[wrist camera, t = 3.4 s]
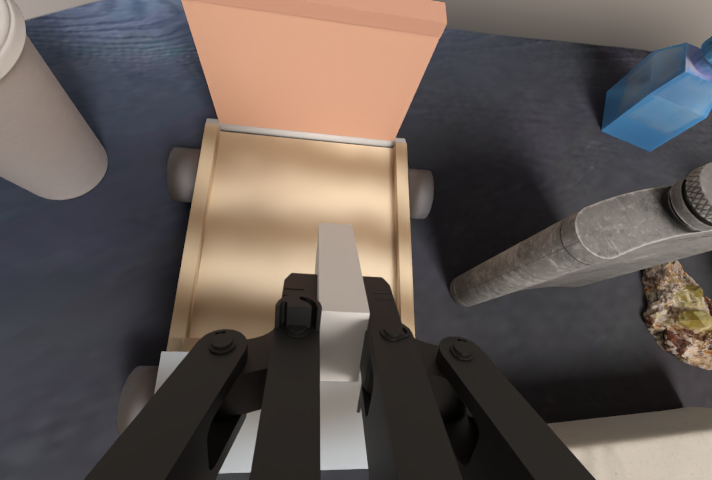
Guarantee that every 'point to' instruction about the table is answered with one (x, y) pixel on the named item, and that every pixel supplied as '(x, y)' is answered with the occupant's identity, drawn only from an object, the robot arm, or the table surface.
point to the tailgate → (315, 64)
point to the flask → (601, 242)
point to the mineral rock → (678, 314)
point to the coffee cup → (41, 122)
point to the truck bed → (281, 255)
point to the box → (643, 444)
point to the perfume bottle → (661, 96)
